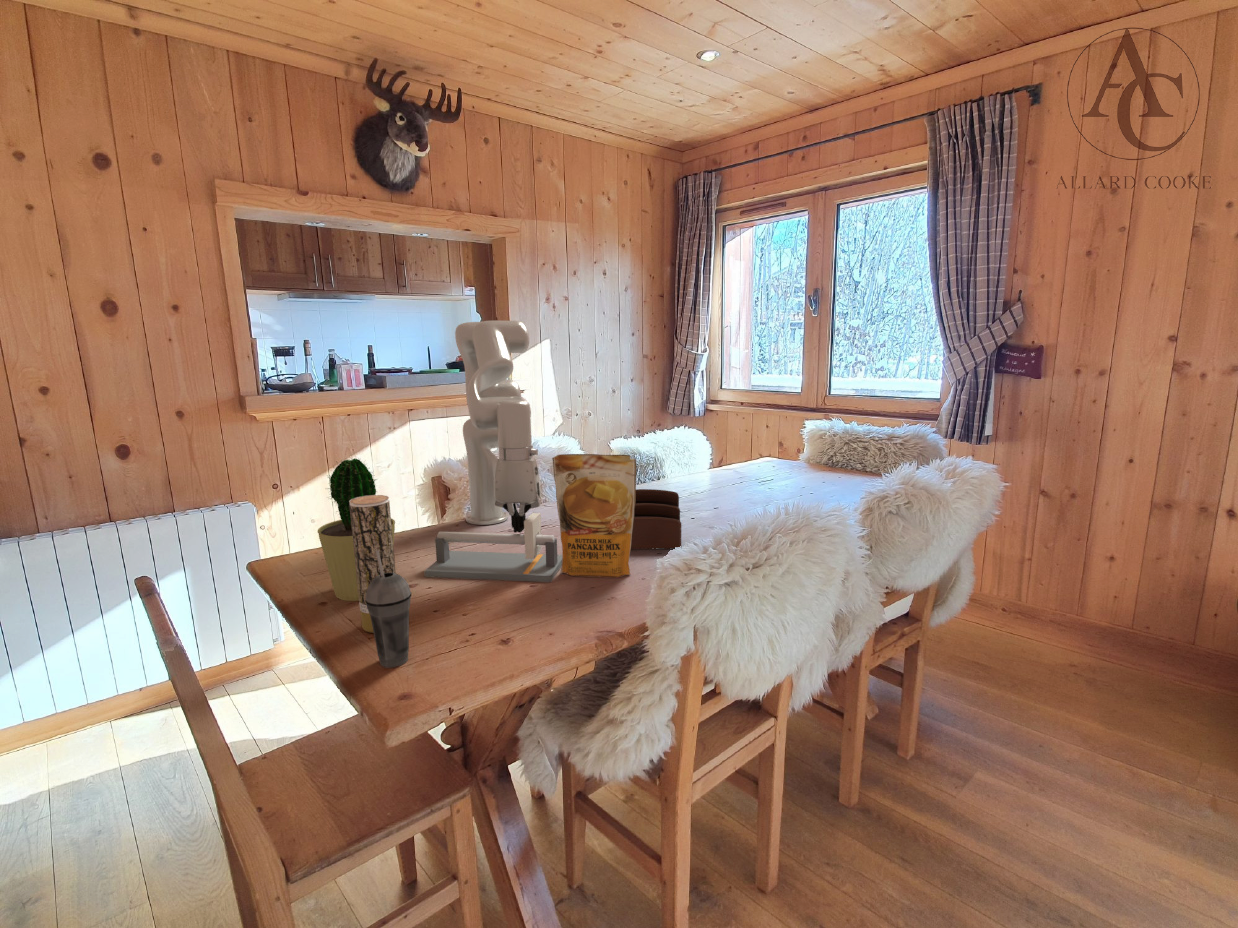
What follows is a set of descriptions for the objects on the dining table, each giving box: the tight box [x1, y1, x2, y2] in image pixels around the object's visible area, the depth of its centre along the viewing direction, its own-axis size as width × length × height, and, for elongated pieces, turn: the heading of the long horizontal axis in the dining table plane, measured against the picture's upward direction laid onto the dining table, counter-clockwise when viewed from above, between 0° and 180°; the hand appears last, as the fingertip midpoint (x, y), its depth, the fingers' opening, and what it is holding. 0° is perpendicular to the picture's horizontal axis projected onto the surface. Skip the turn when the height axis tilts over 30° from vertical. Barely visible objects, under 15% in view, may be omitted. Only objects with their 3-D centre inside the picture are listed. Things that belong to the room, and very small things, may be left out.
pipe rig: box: [424, 531, 562, 583], centre depth 145 cm, size 14×30×9 cm, turn 82°
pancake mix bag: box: [551, 453, 638, 579], centre depth 140 cm, size 7×19×28 cm, turn 83°
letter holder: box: [630, 488, 682, 550], centre depth 162 cm, size 10×20×14 cm, turn 89°
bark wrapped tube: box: [349, 494, 397, 634], centre depth 114 cm, size 7×7×25 cm
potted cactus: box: [317, 456, 396, 602], centre depth 131 cm, size 15×15×30 cm
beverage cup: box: [365, 550, 412, 668], centre depth 102 cm, size 7×7×20 cm
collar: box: [523, 512, 543, 559], centre depth 143 cm, size 7×2×9 cm, turn 172°
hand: (519, 530), depth 143 cm, fingers closed
